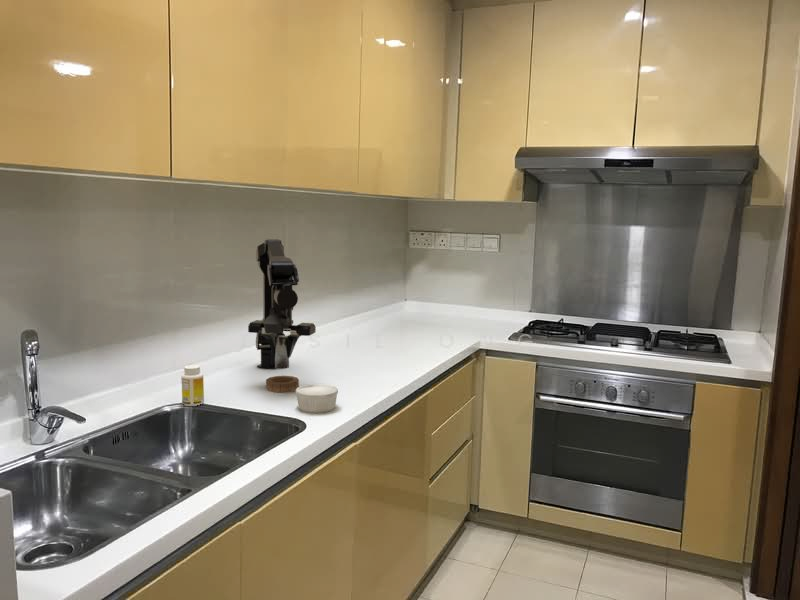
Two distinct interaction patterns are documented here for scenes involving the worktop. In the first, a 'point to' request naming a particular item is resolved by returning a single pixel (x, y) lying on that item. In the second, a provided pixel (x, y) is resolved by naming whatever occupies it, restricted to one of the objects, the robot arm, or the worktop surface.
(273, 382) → the brown segmented ring
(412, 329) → the worktop surface
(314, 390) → the ramekin
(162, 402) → the worktop surface
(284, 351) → the grey metal peg
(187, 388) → the supplement bottle
